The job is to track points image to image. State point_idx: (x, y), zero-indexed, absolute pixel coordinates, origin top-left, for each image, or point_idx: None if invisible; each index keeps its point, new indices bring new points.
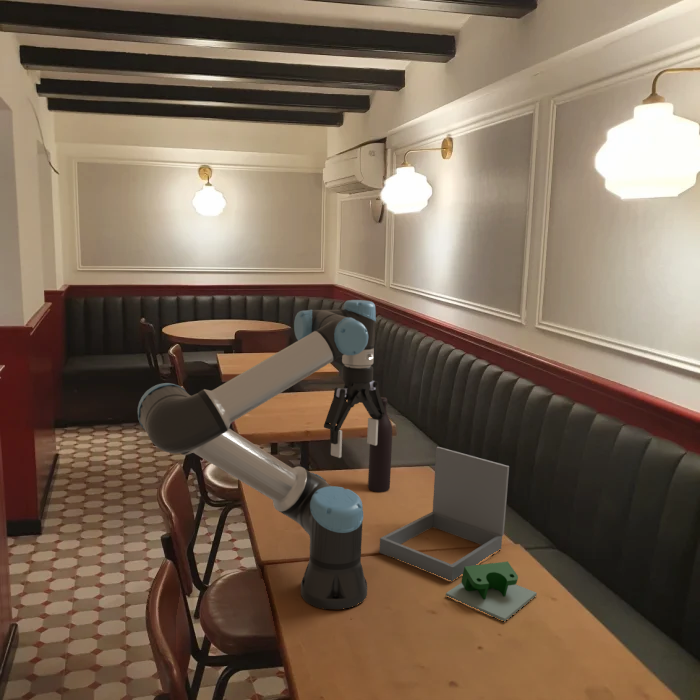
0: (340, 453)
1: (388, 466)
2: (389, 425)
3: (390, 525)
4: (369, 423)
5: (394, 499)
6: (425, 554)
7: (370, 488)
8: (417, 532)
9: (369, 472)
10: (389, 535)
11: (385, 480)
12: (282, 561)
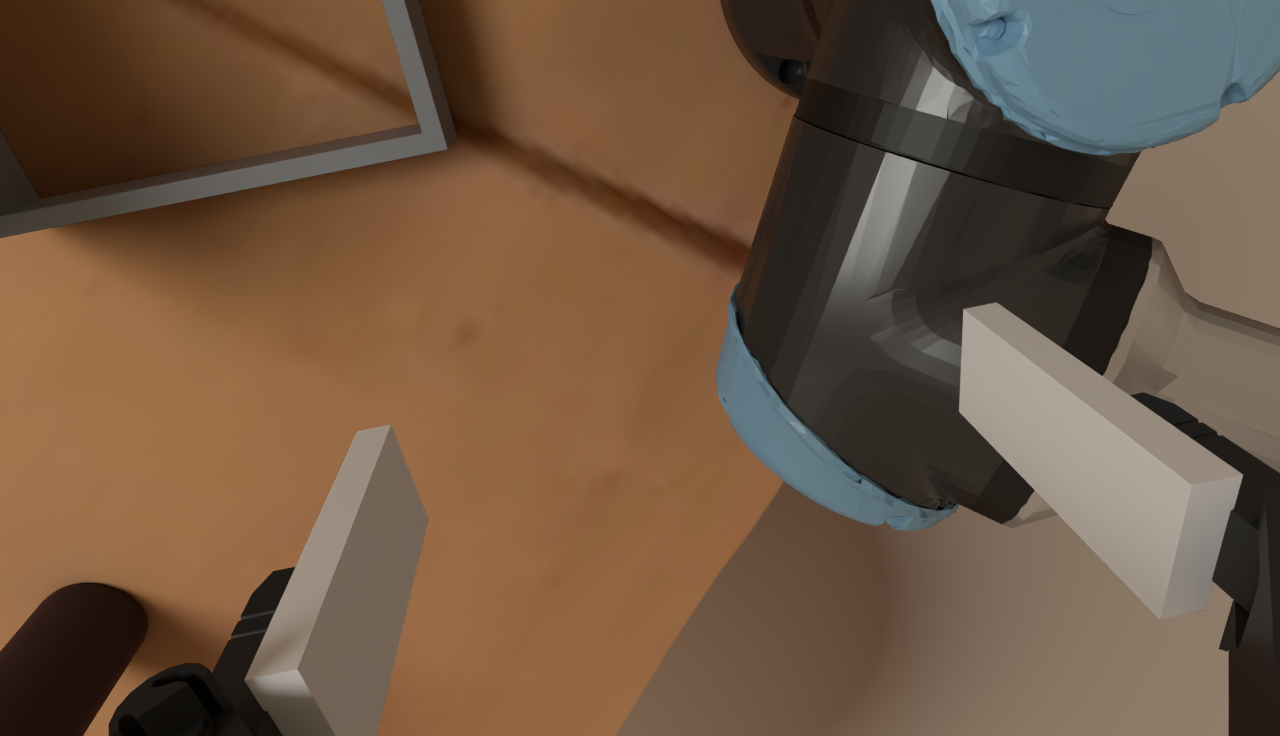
0: (1004, 322)
1: None
2: None
3: (248, 320)
4: (369, 696)
5: (81, 510)
6: None
7: (144, 621)
8: (167, 175)
9: (108, 689)
10: (385, 144)
11: (54, 622)
12: None
